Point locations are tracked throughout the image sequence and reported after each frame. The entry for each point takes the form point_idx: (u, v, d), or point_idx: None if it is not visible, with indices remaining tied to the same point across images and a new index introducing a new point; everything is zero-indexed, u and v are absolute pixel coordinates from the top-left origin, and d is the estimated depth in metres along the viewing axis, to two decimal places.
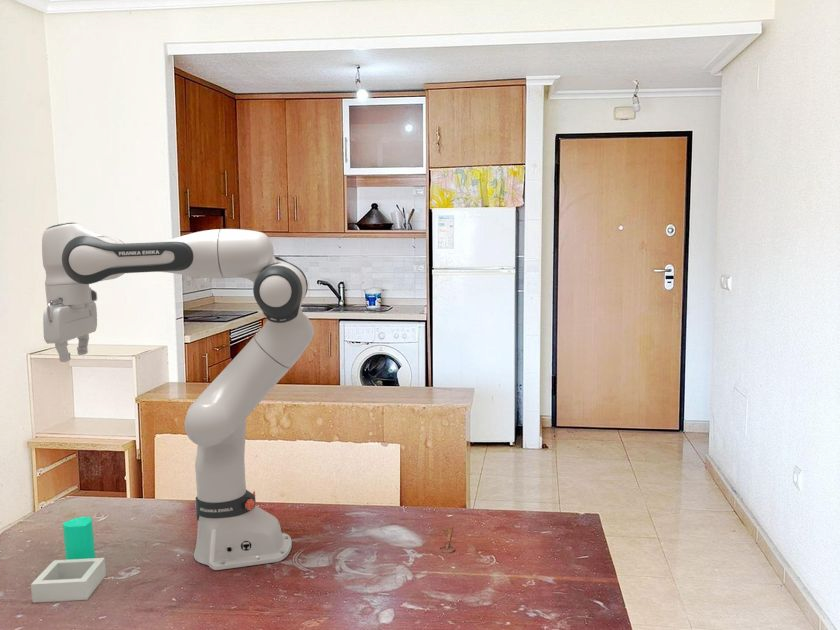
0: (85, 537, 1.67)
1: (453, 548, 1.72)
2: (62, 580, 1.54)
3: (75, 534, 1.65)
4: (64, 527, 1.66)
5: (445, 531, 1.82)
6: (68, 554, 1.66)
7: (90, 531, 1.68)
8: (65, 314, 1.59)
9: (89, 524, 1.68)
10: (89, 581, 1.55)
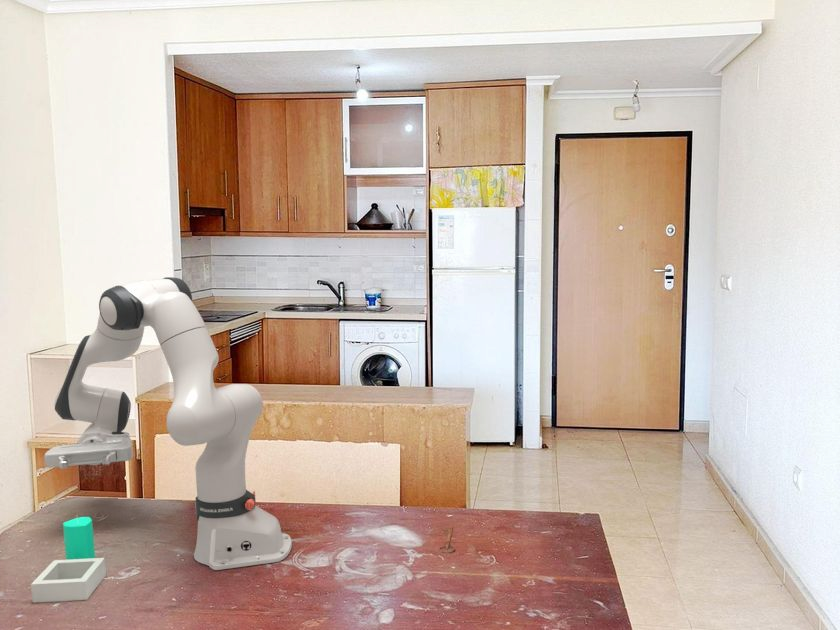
0: (85, 537, 1.67)
1: (453, 548, 1.72)
2: (62, 580, 1.54)
3: (75, 534, 1.65)
4: (64, 527, 1.66)
5: (445, 531, 1.82)
6: (68, 554, 1.66)
7: (90, 531, 1.68)
8: (64, 446, 1.87)
9: (89, 524, 1.68)
10: (89, 581, 1.55)
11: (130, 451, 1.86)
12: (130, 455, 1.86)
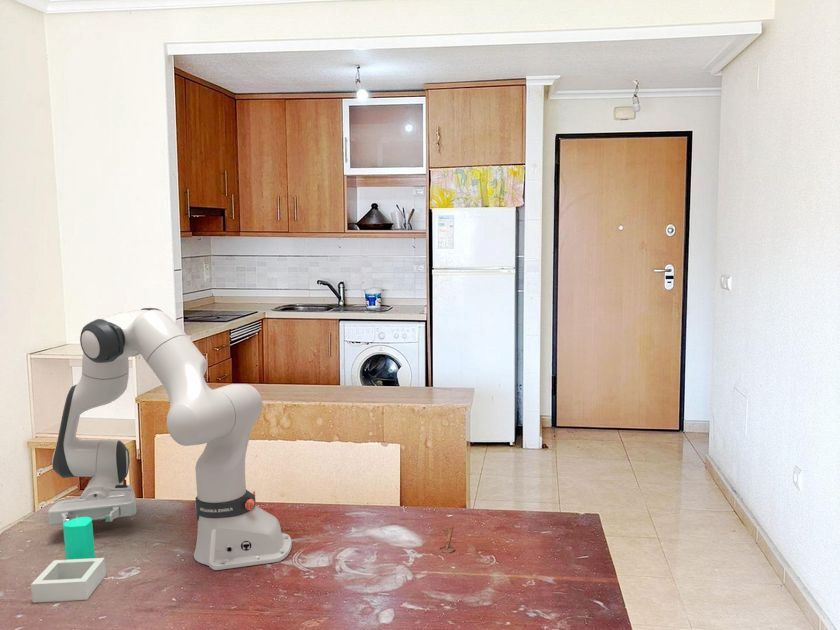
0: (85, 537, 1.67)
1: (453, 548, 1.72)
2: (62, 580, 1.54)
3: (75, 534, 1.65)
4: (64, 527, 1.66)
5: (445, 531, 1.82)
6: (68, 554, 1.66)
7: (90, 531, 1.68)
8: (67, 501, 1.86)
9: (89, 524, 1.68)
10: (89, 581, 1.55)
11: (133, 506, 1.85)
12: (133, 510, 1.85)
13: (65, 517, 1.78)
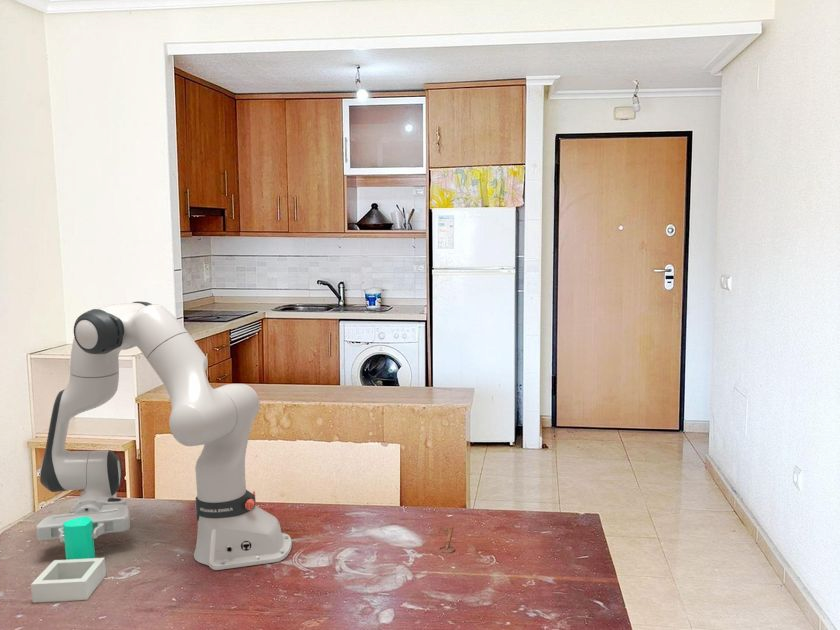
0: (85, 537, 1.67)
1: (453, 548, 1.72)
2: (62, 580, 1.54)
3: (75, 534, 1.65)
4: (64, 527, 1.66)
5: (445, 531, 1.82)
6: (68, 554, 1.66)
7: (90, 531, 1.68)
8: (57, 516, 1.76)
9: (89, 524, 1.68)
10: (89, 581, 1.55)
11: (127, 521, 1.75)
12: (127, 525, 1.75)
13: (62, 532, 1.68)
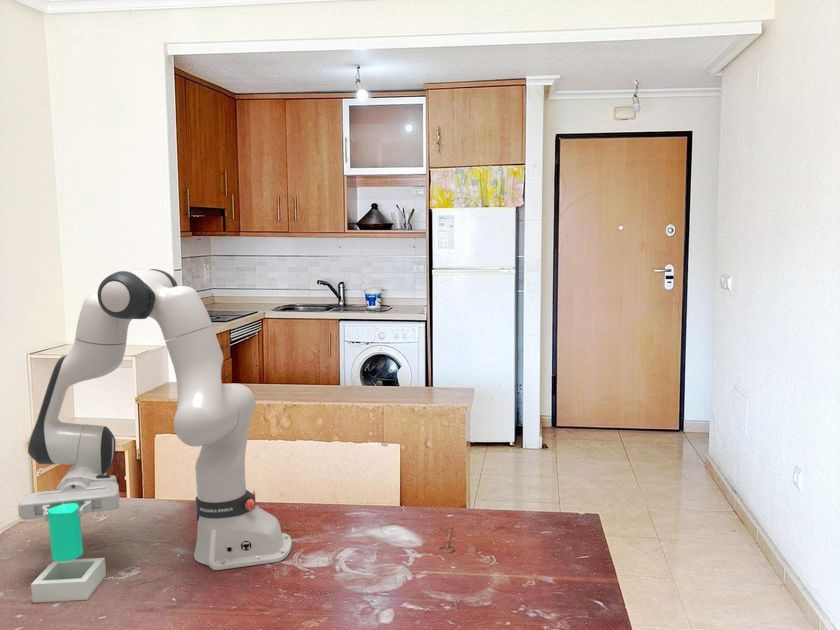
0: (71, 525, 1.55)
1: (453, 548, 1.72)
2: (62, 580, 1.54)
3: (61, 521, 1.54)
4: (49, 514, 1.54)
5: (445, 531, 1.82)
6: (54, 543, 1.55)
7: (77, 518, 1.56)
8: (41, 493, 1.64)
9: (76, 511, 1.56)
10: (89, 581, 1.55)
11: (116, 499, 1.63)
12: (116, 503, 1.63)
13: (46, 510, 1.56)
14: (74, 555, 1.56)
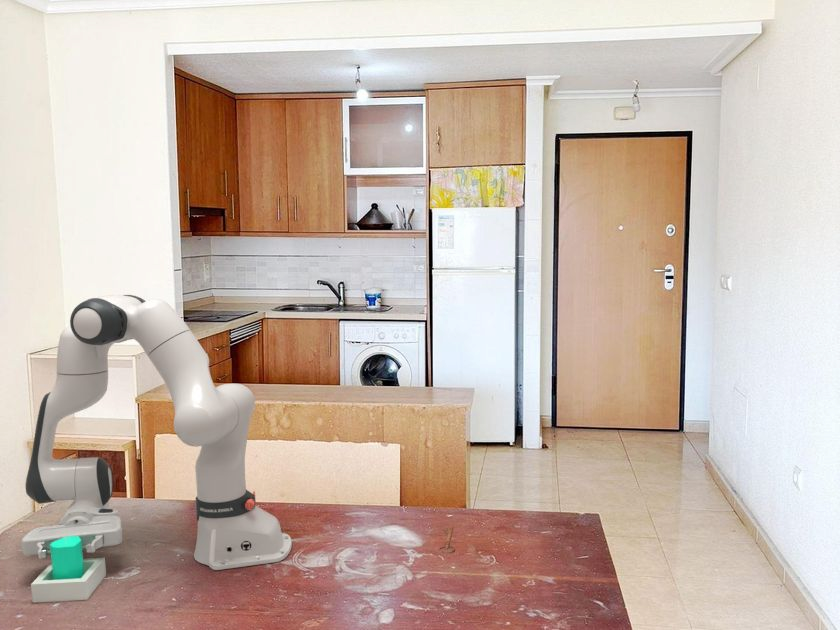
0: (74, 558, 1.56)
1: (453, 548, 1.72)
2: (62, 580, 1.54)
3: (63, 555, 1.55)
4: (51, 548, 1.55)
5: (445, 531, 1.82)
6: (56, 577, 1.56)
7: (79, 552, 1.57)
8: (44, 528, 1.65)
9: (78, 544, 1.57)
10: (89, 581, 1.55)
11: (119, 534, 1.64)
12: (119, 538, 1.64)
13: (41, 547, 1.57)
14: None
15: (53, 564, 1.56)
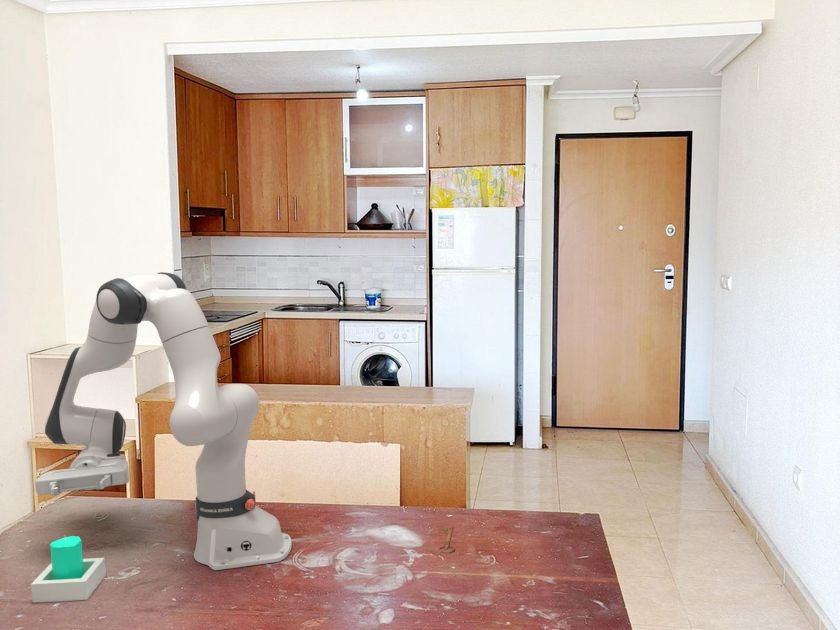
0: (74, 558, 1.56)
1: (452, 548, 1.72)
2: (62, 580, 1.54)
3: (63, 555, 1.55)
4: (51, 548, 1.55)
5: (445, 531, 1.82)
6: (56, 577, 1.56)
7: (79, 552, 1.57)
8: (56, 471, 1.76)
9: (78, 544, 1.57)
10: (89, 581, 1.55)
11: (126, 474, 1.75)
12: (126, 478, 1.75)
13: (53, 486, 1.68)
14: None
15: (53, 564, 1.56)
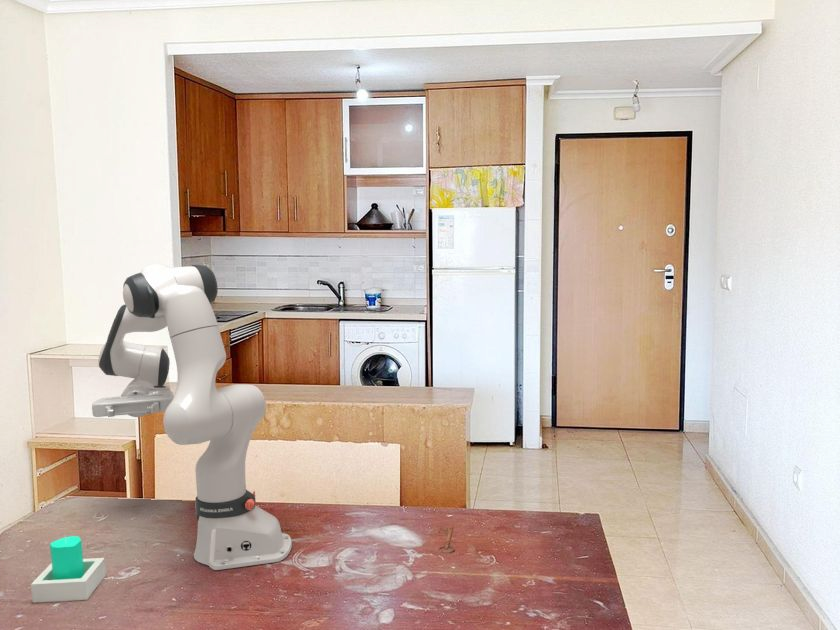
0: (74, 558, 1.56)
1: (452, 548, 1.72)
2: (62, 580, 1.54)
3: (63, 555, 1.55)
4: (51, 548, 1.55)
5: (445, 531, 1.82)
6: (56, 577, 1.56)
7: (79, 552, 1.57)
8: (109, 398, 1.96)
9: (78, 544, 1.57)
10: (89, 581, 1.55)
11: None
12: None
13: (109, 408, 1.88)
14: None
15: (53, 564, 1.56)
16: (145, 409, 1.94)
